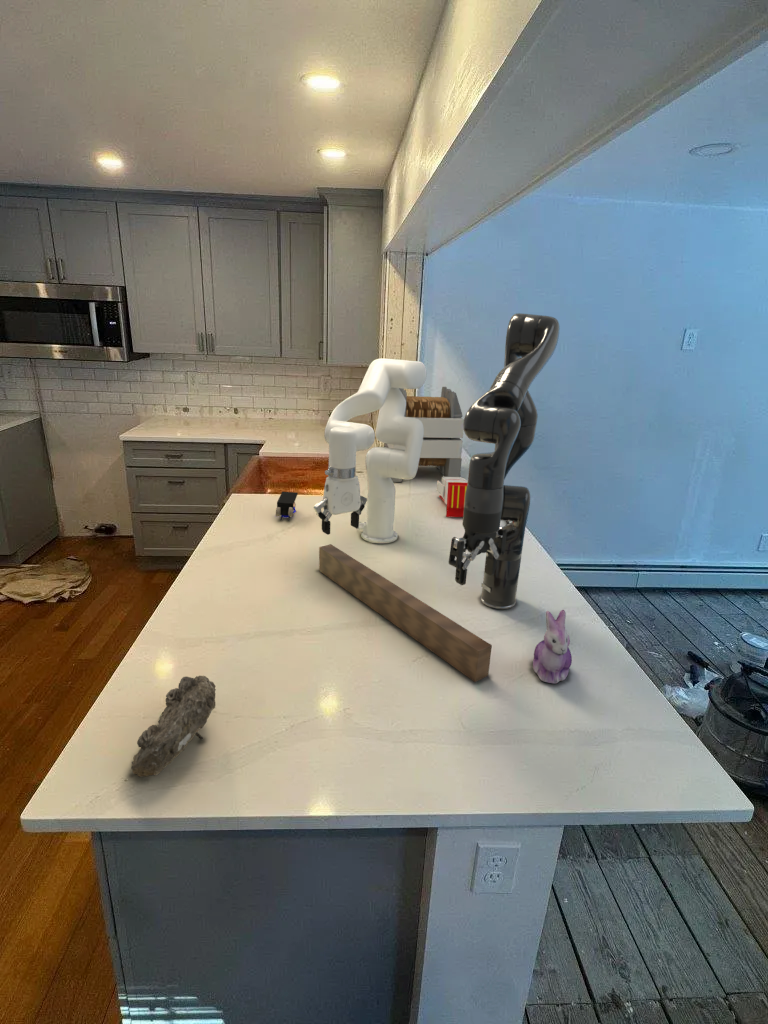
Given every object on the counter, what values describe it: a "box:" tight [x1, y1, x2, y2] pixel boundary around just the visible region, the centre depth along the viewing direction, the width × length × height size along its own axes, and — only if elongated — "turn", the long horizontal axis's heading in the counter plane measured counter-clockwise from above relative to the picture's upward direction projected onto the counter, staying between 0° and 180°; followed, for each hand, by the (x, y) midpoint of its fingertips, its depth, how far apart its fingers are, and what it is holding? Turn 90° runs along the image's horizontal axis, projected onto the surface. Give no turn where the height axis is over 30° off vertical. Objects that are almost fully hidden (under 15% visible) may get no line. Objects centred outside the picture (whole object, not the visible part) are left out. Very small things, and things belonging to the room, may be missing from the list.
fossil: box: [130, 675, 217, 778], centre depth 101 cm, size 22×10×15 cm
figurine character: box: [275, 491, 299, 522], centre depth 211 cm, size 7×8×15 cm
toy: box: [435, 476, 468, 518], centre depth 229 cm, size 12×13×30 cm
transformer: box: [383, 386, 465, 483], centre depth 268 cm, size 34×33×41 cm
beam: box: [318, 543, 493, 683], centre depth 145 cm, size 64×4×8 cm, turn 37°
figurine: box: [532, 609, 573, 684], centre depth 124 cm, size 9×10×15 cm
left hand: (340, 529), depth 162 cm, fingers open, 9 cm apart
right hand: (475, 578), depth 119 cm, fingers open, 8 cm apart
